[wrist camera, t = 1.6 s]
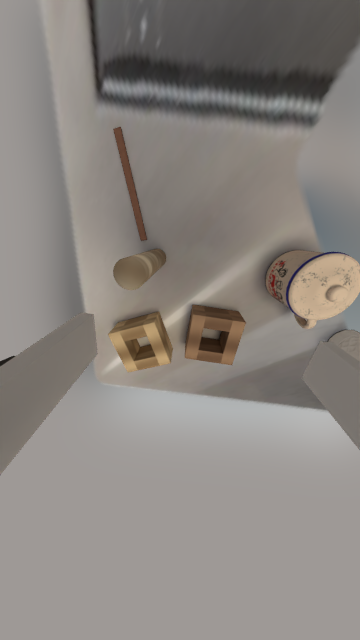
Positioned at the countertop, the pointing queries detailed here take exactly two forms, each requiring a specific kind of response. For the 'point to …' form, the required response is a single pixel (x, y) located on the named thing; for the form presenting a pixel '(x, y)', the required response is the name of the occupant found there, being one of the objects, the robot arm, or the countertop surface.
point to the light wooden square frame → (129, 347)
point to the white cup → (348, 342)
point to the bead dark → (213, 348)
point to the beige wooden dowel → (138, 268)
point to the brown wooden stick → (130, 182)
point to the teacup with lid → (314, 284)
